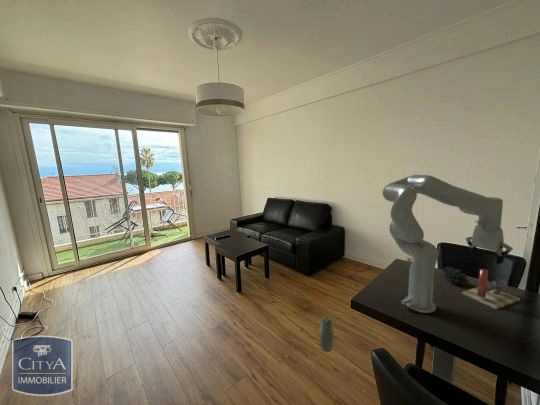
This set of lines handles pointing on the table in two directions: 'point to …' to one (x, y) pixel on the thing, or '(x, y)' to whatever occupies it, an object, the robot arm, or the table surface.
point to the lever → (483, 284)
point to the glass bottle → (326, 334)
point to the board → (492, 298)
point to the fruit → (455, 276)
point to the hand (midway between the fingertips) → (486, 259)
